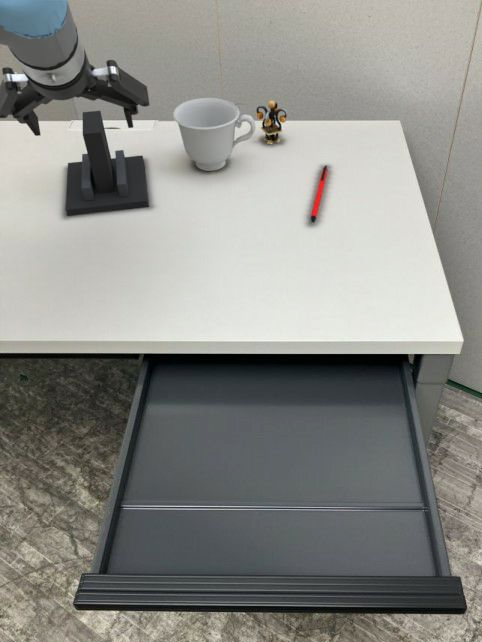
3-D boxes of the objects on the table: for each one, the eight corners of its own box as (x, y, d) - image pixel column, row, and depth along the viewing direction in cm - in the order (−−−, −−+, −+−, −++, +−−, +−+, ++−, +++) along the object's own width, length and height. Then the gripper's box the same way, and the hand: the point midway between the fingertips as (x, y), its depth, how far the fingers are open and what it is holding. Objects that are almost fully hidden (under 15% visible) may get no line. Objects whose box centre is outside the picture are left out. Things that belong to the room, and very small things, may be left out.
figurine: (254, 136, 121) (255, 97, 114) (275, 131, 122) (277, 93, 116) (265, 148, 118) (266, 109, 112) (286, 143, 120) (289, 104, 114)
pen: (328, 168, 113) (328, 163, 113) (314, 225, 101) (314, 220, 100) (323, 168, 114) (323, 162, 113) (309, 225, 101) (309, 219, 100)
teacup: (251, 183, 109) (249, 131, 102) (172, 177, 111) (165, 125, 103) (260, 151, 117) (259, 100, 110) (187, 146, 118) (181, 95, 111)
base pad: (67, 215, 102) (61, 196, 100) (69, 168, 113) (64, 150, 110) (148, 206, 104) (145, 187, 101) (143, 161, 115) (140, 142, 112)
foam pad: (97, 193, 105) (82, 134, 96) (97, 170, 110) (82, 112, 102) (115, 192, 105) (101, 132, 97) (113, 169, 110) (100, 110, 102)
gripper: (-58, 96, 66) (0, 155, 87) (165, 80, 70) (170, 140, 91) (-71, 27, 66) (-8, 103, 87) (156, 14, 69) (163, 90, 90)
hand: (83, 122), depth 89 cm, fingers open, 13 cm apart
